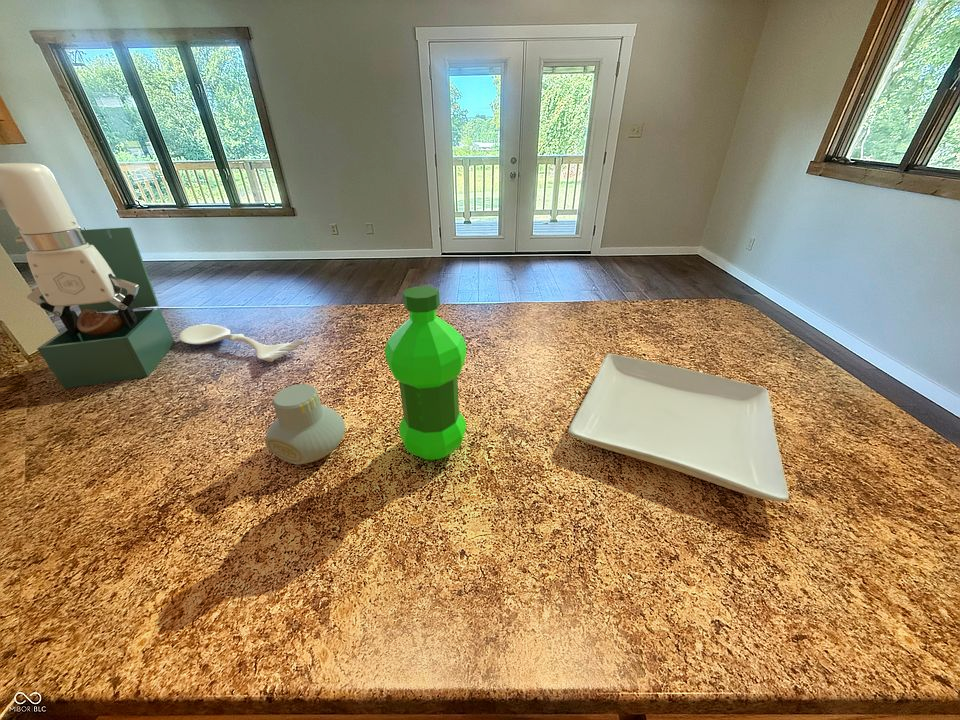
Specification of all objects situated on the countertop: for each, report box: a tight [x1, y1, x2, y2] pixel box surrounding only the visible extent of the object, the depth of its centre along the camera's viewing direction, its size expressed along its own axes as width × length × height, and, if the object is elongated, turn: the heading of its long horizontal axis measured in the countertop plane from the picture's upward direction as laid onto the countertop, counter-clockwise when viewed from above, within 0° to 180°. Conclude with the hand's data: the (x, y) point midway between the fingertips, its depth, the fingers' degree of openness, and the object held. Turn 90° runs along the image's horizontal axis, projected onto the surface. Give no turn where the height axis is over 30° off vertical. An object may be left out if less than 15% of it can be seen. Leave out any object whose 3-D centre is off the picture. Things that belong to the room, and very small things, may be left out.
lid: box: [77, 226, 160, 313], centre depth 79 cm, size 16×14×1 cm
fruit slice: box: [76, 309, 124, 335], centre depth 76 cm, size 8×7×5 cm
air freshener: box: [264, 383, 346, 465], centre depth 56 cm, size 11×8×10 cm
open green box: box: [36, 307, 176, 390], centre depth 78 cm, size 16×14×9 cm
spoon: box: [178, 323, 305, 363], centre depth 85 cm, size 9×32×4 cm, turn 67°
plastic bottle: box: [384, 285, 467, 461], centre depth 52 cm, size 10×10×25 cm
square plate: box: [568, 353, 790, 503], centre depth 61 cm, size 27×27×4 cm
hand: (105, 328), depth 76 cm, fingers closed on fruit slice, 8 cm apart
